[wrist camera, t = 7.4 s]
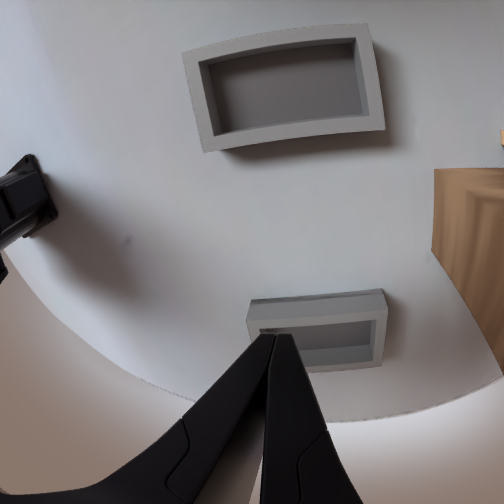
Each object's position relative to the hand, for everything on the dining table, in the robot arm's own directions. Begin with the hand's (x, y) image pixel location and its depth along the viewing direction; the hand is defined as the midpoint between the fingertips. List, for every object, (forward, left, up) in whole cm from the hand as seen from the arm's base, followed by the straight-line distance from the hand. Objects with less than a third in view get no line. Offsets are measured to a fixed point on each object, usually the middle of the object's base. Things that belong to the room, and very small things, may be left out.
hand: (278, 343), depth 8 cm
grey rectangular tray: (+2, +7, -13) cm, 15 cm away
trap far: (-1, -11, -13) cm, 17 cm away
